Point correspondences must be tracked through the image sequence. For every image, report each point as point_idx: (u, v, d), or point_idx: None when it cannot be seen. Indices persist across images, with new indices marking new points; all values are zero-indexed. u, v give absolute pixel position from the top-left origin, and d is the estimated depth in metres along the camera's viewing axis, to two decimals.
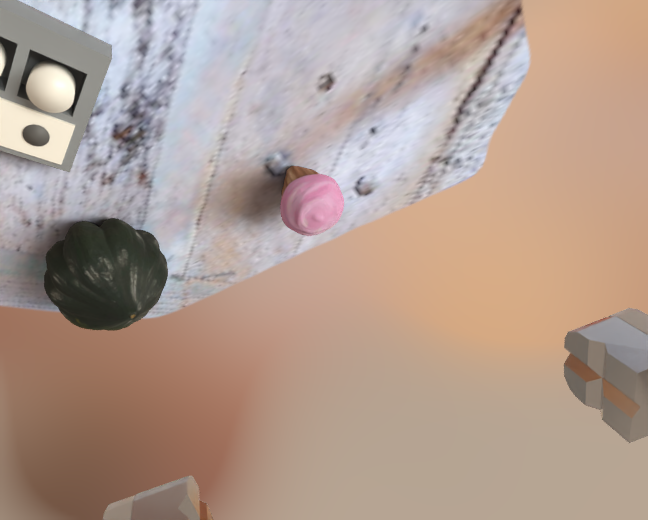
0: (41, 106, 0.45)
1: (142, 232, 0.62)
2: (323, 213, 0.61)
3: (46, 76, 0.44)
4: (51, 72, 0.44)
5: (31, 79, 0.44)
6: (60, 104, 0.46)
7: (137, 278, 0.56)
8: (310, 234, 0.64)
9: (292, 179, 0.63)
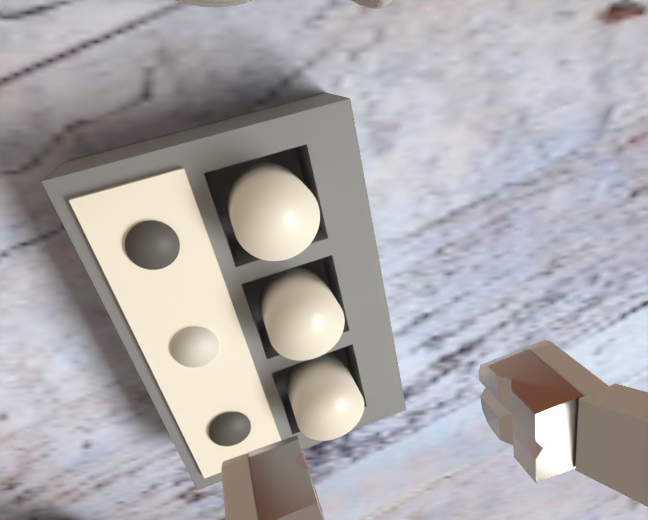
0: (301, 418, 0.26)
1: None
2: None
3: (352, 395, 0.26)
4: (361, 395, 0.27)
5: (333, 387, 0.26)
6: (322, 430, 0.27)
7: None
8: None
9: None
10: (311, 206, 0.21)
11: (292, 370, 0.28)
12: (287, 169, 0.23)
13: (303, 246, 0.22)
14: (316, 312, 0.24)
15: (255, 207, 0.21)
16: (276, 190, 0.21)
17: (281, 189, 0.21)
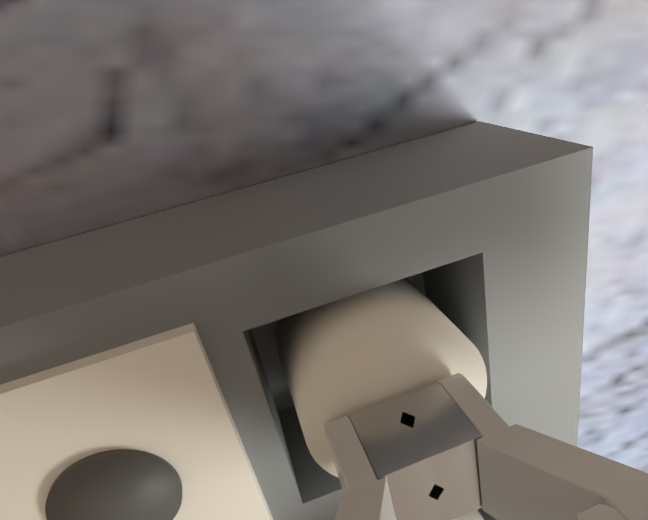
0: None
1: None
2: None
3: None
4: None
5: None
6: None
7: None
8: None
9: None
10: (472, 375, 0.10)
11: None
12: None
13: None
14: None
15: (356, 389, 0.09)
16: (405, 352, 0.09)
17: (416, 349, 0.09)
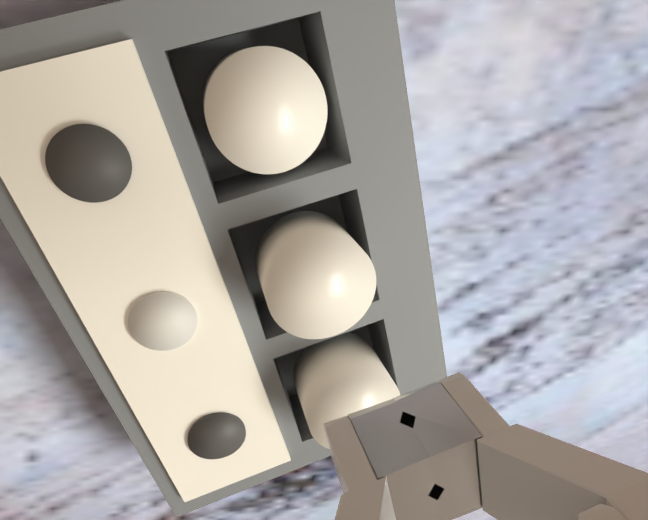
0: (315, 421, 0.19)
1: None
2: None
3: (385, 388, 0.19)
4: (397, 388, 0.19)
5: (360, 377, 0.18)
6: None
7: None
8: None
9: None
10: (315, 94, 0.15)
11: (301, 355, 0.21)
12: None
13: (305, 154, 0.16)
14: (336, 267, 0.16)
15: (237, 92, 0.15)
16: (266, 67, 0.15)
17: (273, 66, 0.15)
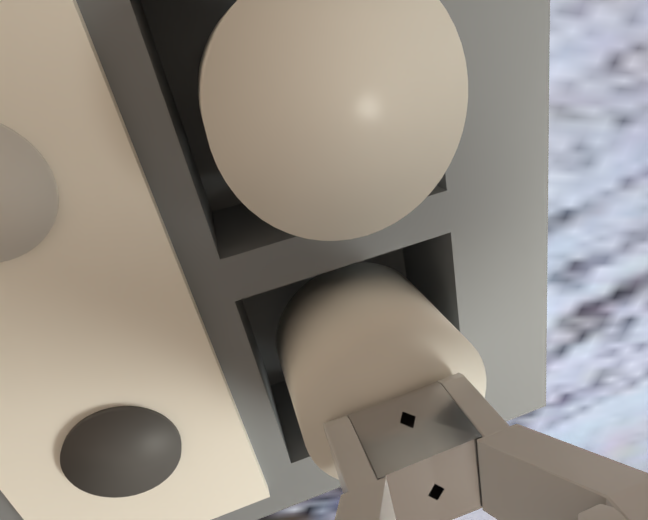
0: (317, 427, 0.09)
1: None
2: None
3: (459, 361, 0.09)
4: (482, 362, 0.10)
5: (412, 335, 0.09)
6: None
7: None
8: None
9: None
10: None
11: (292, 303, 0.11)
12: None
13: None
14: (378, 50, 0.07)
15: None
16: None
17: None
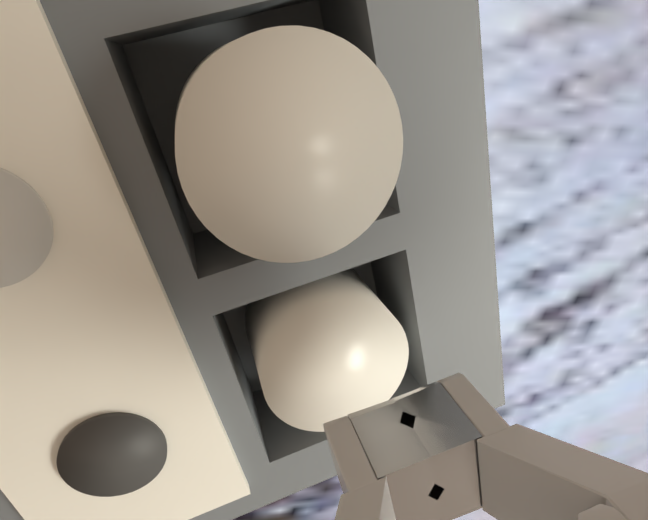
0: (273, 381, 0.12)
1: None
2: None
3: (384, 329, 0.12)
4: (403, 330, 0.12)
5: (344, 307, 0.11)
6: (320, 410, 0.12)
7: None
8: None
9: None
10: None
11: None
12: None
13: None
14: (323, 103, 0.08)
15: None
16: None
17: None
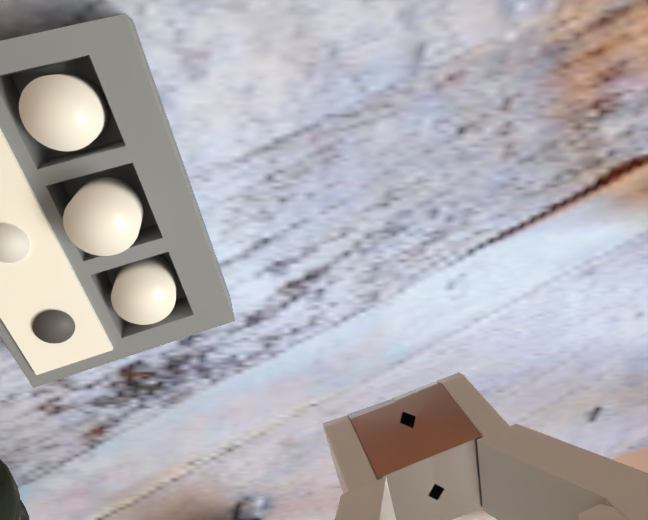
0: (116, 301, 0.30)
1: (20, 508, 0.36)
2: None
3: (161, 282, 0.31)
4: (171, 283, 0.31)
5: (142, 273, 0.30)
6: (139, 315, 0.31)
7: None
8: None
9: None
10: (90, 103, 0.26)
11: (120, 267, 0.32)
12: (84, 78, 0.27)
13: (89, 139, 0.26)
14: (108, 209, 0.26)
15: (38, 101, 0.25)
16: (55, 87, 0.25)
17: (60, 86, 0.25)
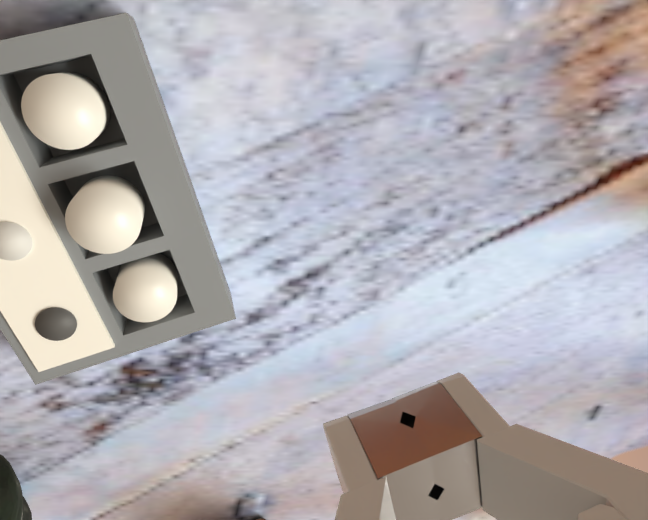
0: (118, 299, 0.30)
1: (23, 504, 0.36)
2: None
3: (163, 280, 0.31)
4: (172, 281, 0.31)
5: (143, 271, 0.30)
6: (140, 312, 0.31)
7: None
8: None
9: None
10: (92, 102, 0.26)
11: (121, 265, 0.33)
12: (85, 77, 0.27)
13: (91, 137, 0.26)
14: (110, 207, 0.27)
15: (40, 100, 0.25)
16: (57, 86, 0.25)
17: (62, 85, 0.25)
